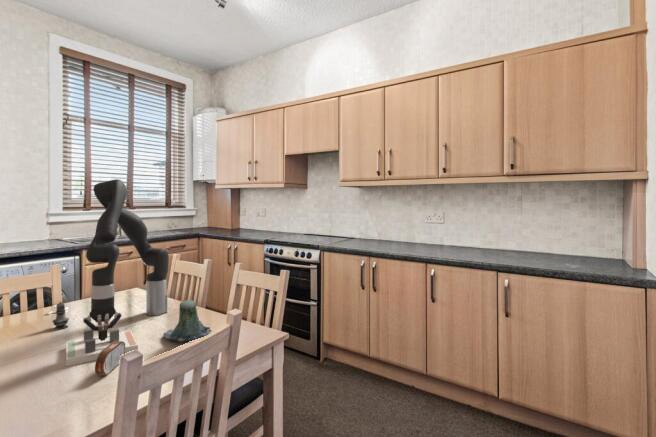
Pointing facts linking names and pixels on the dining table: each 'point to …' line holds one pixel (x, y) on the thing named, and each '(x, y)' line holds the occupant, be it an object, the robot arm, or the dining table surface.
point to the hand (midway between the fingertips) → (102, 339)
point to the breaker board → (96, 348)
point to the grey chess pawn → (60, 317)
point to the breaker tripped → (114, 335)
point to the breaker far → (88, 334)
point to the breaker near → (89, 345)
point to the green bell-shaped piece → (187, 325)
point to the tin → (109, 358)
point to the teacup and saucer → (56, 310)
